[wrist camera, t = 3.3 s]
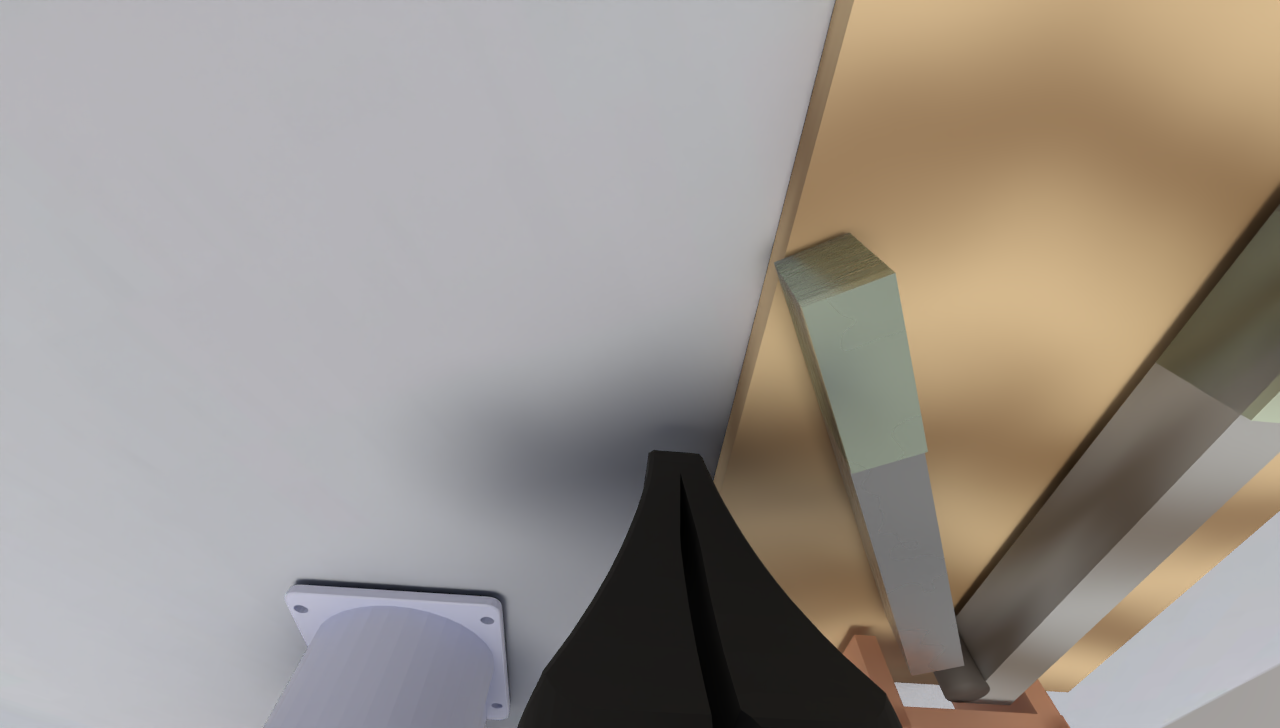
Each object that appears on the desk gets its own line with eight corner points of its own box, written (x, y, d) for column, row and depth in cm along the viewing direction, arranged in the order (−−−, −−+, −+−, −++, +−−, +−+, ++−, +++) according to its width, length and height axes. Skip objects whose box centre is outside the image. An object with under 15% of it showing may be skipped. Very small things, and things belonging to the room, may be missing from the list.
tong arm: (932, 605, 17) (968, 672, 15) (885, 615, 18) (914, 682, 16) (849, 232, 10) (895, 272, 8) (773, 262, 11) (801, 307, 9)
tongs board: (1051, 667, 22) (1115, 763, 19) (671, 644, 21) (676, 741, 18) (1764, 0, 9) (2307, -25, 6) (868, -128, 8) (994, -229, 5)
